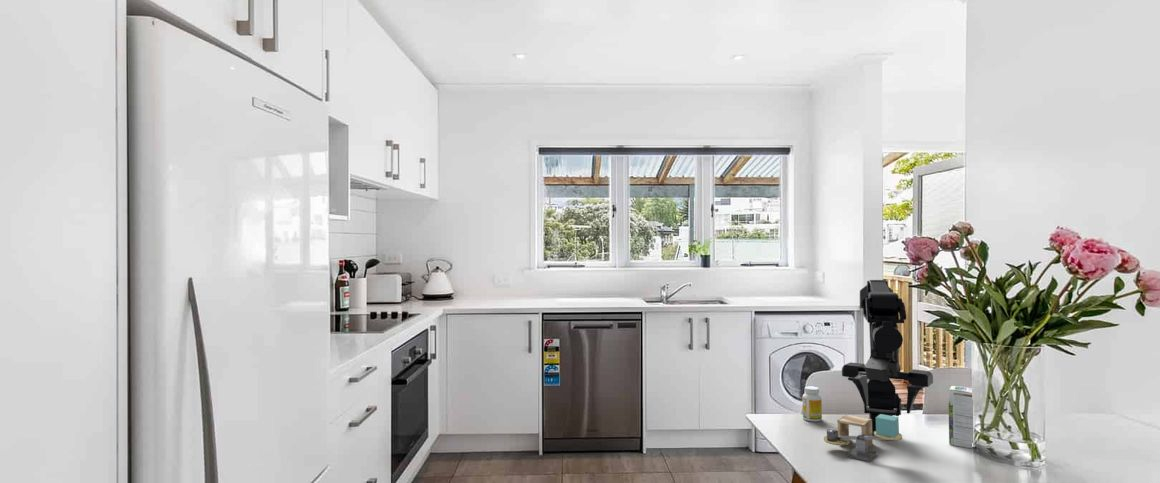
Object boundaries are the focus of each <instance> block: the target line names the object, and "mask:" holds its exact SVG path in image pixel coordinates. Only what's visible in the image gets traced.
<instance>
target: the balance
mask: <svg viewBox="0 0 1160 483" xmlns="http://www.w3.org/2000/svg"><path fill="white" fill-rule="evenodd" d="M902 439H903V434H901V433H900V432H899V434H898V435H897V436H896V437H895V438H893V437H888V436H882V435H877V434H876V431H874V436H865V435H864V434H862V433H860V434H858V435H849V436H838V429H833V428H829V429H826V435H825V436H824V437H823V441H824V442H825V443H826V444H829V445H832V446H833V445H834V446H848V445H850V443H851V441H852V440H853V441H855V447H854V448H853V449H851V450H849V452H848V453H846V455H847V458H851V459H853V460H854V459H856V460H860V461H864V462H868V463H870V461H872V460H874V458H875V457H876V456H877V454H878V452H877V451H875V450H870V449H869V450H868V448H867V440H873V441H878V440H879V441H880V440H881V441H885V440H886V441H894V442H895V441H901V440H902Z"/></svg>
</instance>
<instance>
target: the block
mask: <svg viewBox="0 0 1160 483" xmlns="http://www.w3.org/2000/svg"><path fill="white" fill-rule="evenodd" d="M899 420H900V419H899V416H889V415H883V414H880V415H878V416H877V417H876V434H877V435H882V436H888V437H893V438H895V437H896V436H897V435H898V434H899V433H900V429H899V428H900V426H899V425H900V423H899Z"/></svg>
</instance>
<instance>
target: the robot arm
mask: <svg viewBox="0 0 1160 483" xmlns="http://www.w3.org/2000/svg"><path fill="white" fill-rule="evenodd" d="M893 290H894V289H892V288H891V287H890V286H889V282H888V280H886V279H870V280H867V281H866V285H865V286H864V287H862V288H861V289H859V309H861V310H862V316H863V318H864V319H865V321H867V323H868V325H869V327H868V328H869V347H870V355H869V359H868V360H867V361H866V363H859V362H852V361H851V362H848V363H846V364H844V365H842V367H841V377H844V378H847V381H851V382H852V383H853V384H854V385H855V387H856V388H857V391H858V392H859V394H860V398H861V400H862V402H863V403H862V404H863V407H862V408H863V413H864V414H868V416H869V417H868V419H872V436H874V431H876V417H877V416H878V415H880V414H883V415H889V416H895V417H899V416H901V415H902V399H901V398H900V395H899V393H897V392H896V387H895V385H894V383H893V381H891V379H893V380H901V381H907V382H908V383H909V384H908V385H907V386H906V389H907V397H906V414H908V415H909V414H910V413H911V411H912V408H913V406H914V403H915V401H916V398H917V396H918V395H919V392H920V391H921V390H922V391H923V389H925V388H928V387H930V386H932V384H934V376H933V373H932V372H931V371H930V370H923V369H912V370H910V371H909V372H908V371H907V372H906V371H901V366H900V365H901V364H900V348H901V347H902V346H903V341H904V338H903V335H902V333H901V332H900V330H899V328H898V325H897V324H905V321H906V320H907V312H906V311H907V310H906V307H905V302H904V301H903V298H901V297H899V295H898V293H897V292H894V291H893Z"/></svg>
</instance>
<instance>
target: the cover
mask: <svg viewBox="0 0 1160 483" xmlns="http://www.w3.org/2000/svg"><path fill="white" fill-rule="evenodd" d="M850 426H857V427H861V434H864V435H865V436H872V419H869V418H866V417H860V416H855V415H850V414H845V415H843V416H842V417H840V418H839V419H837V431H838V436H850V428H849V427H850ZM873 442H874V440H867V449H868V448H870V447H871V446H872V445H873Z"/></svg>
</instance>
